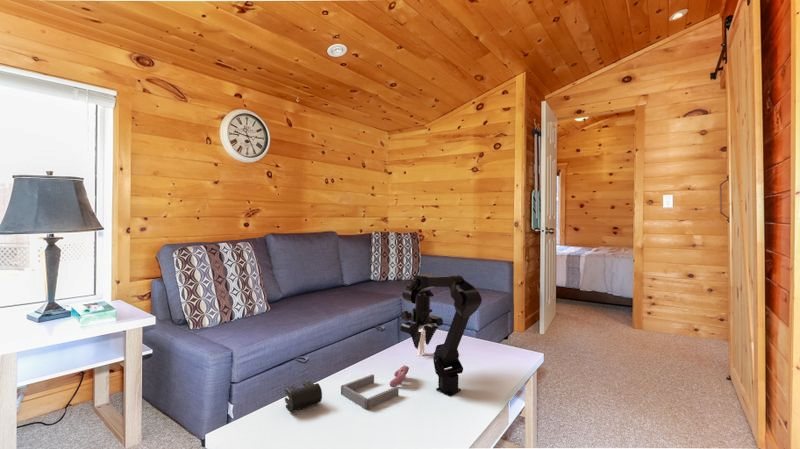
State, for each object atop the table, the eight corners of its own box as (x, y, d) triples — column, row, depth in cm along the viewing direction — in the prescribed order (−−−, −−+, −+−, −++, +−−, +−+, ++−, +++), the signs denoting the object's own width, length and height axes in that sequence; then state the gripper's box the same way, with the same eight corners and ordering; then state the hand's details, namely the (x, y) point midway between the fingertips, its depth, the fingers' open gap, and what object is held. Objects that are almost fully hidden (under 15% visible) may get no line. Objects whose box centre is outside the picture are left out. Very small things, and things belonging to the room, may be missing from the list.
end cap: (292, 417, 117) (292, 395, 117) (283, 407, 123) (283, 386, 122) (322, 407, 123) (322, 386, 123) (312, 398, 129) (312, 378, 129)
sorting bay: (398, 395, 131) (398, 387, 131) (366, 410, 122) (366, 400, 122) (372, 382, 142) (372, 374, 141) (340, 394, 132) (341, 385, 132)
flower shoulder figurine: (423, 350, 175) (424, 324, 174) (430, 352, 172) (431, 326, 172) (411, 356, 168) (412, 329, 167) (418, 358, 165) (419, 330, 165)
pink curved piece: (399, 392, 137) (408, 376, 136) (388, 385, 138) (396, 369, 137) (404, 380, 147) (412, 365, 146) (393, 374, 148) (402, 359, 147)
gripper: (423, 299, 161) (422, 335, 162) (390, 306, 148) (390, 346, 149) (444, 304, 153) (443, 342, 154) (411, 312, 140) (410, 354, 141)
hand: (421, 346), depth 149 cm, fingers open, 6 cm apart
